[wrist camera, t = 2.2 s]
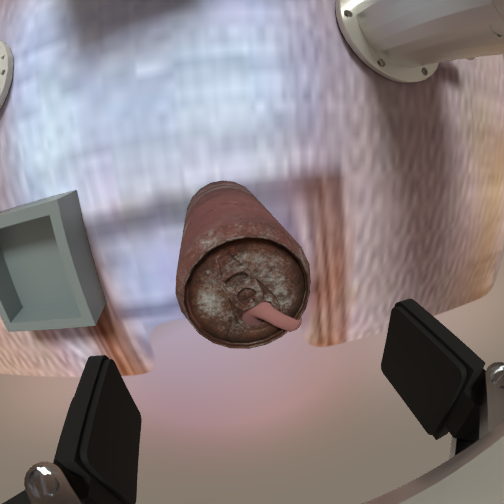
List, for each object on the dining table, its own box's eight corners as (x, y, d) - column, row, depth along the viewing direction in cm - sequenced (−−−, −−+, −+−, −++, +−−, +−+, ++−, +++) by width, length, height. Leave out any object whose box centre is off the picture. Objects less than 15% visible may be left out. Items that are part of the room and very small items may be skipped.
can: (241, 261, 27) (279, 369, 14) (175, 233, 25) (154, 331, 12) (273, 200, 25) (347, 267, 13) (206, 168, 24) (212, 202, 11)
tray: (76, 190, 22) (57, 199, 18) (106, 302, 26) (95, 325, 23) (-9, 214, 21) (-31, 226, 17) (24, 311, 25) (8, 331, 21)
